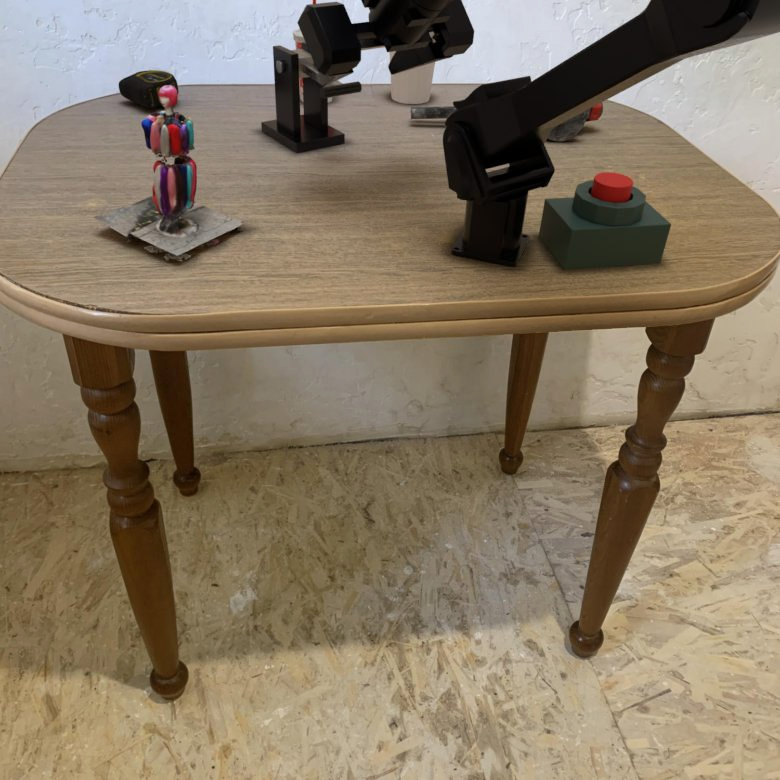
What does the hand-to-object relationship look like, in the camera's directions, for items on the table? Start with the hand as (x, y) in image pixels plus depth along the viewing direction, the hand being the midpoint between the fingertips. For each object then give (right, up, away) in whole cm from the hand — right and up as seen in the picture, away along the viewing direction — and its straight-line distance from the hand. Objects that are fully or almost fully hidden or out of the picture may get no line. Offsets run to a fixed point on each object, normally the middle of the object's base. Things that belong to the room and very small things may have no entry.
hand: (356, 76), depth 85 cm
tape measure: (-29, +5, +22) cm, 37 cm away
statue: (-18, -19, -8) cm, 28 cm away
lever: (-5, +2, +7) cm, 9 cm away
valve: (+19, +2, +22) cm, 29 cm away
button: (+25, -16, -12) cm, 32 cm away
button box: (+24, -21, -8) cm, 33 cm away
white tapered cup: (+7, +8, +29) cm, 31 cm away
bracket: (-8, -2, +14) cm, 16 cm away
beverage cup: (-7, +7, +27) cm, 29 cm away
